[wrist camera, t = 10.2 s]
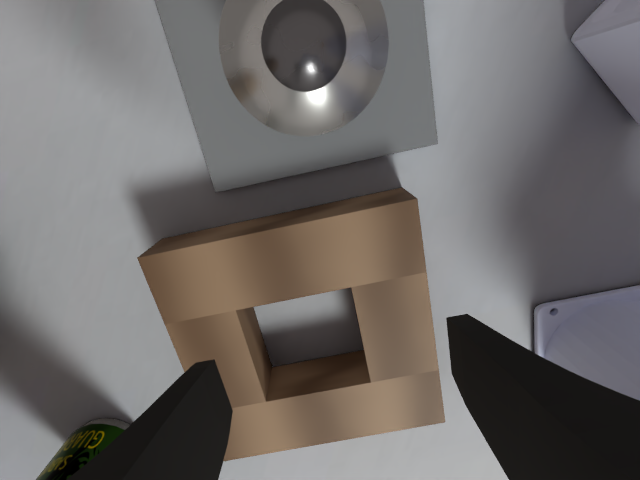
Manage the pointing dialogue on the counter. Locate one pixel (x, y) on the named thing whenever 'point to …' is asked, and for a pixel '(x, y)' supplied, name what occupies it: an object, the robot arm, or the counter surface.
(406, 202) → the bore block
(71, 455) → the green soda can
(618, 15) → the soap bottle
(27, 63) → the counter surface
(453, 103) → the counter surface
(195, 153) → the counter surface
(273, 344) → the counter surface
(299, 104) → the grey round-capped cylinder
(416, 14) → the rubber mat
